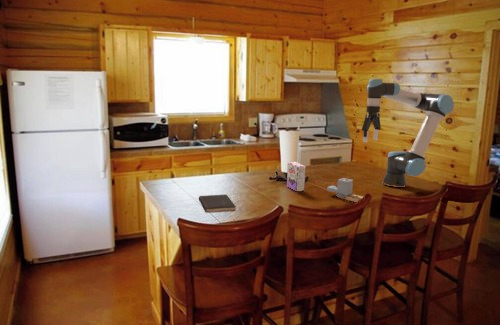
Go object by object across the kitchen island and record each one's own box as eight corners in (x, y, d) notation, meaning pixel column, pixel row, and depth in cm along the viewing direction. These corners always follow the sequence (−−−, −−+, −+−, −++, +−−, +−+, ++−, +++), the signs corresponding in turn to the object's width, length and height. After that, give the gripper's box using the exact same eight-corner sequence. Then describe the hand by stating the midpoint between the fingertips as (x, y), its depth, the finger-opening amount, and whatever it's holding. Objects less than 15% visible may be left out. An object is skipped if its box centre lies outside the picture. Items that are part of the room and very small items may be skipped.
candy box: (286, 186, 258) (287, 161, 254) (294, 186, 260) (295, 161, 257) (296, 192, 245) (297, 166, 242) (304, 192, 247) (306, 165, 244)
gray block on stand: (341, 195, 242) (343, 177, 239) (352, 197, 237) (353, 179, 235) (335, 197, 236) (337, 179, 234) (346, 200, 232) (347, 181, 230)
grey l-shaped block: (332, 188, 245) (332, 175, 244) (352, 193, 236) (353, 179, 235) (326, 190, 240) (327, 177, 239) (346, 195, 232) (347, 181, 230)
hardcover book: (226, 198, 232) (226, 194, 231) (235, 210, 210) (236, 206, 210) (198, 199, 227) (198, 195, 227) (205, 212, 206) (205, 208, 205)
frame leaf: (353, 197, 238) (353, 193, 237) (363, 200, 233) (364, 196, 233) (345, 200, 231) (345, 196, 231) (356, 203, 227) (357, 199, 226)
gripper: (376, 104, 247) (373, 138, 252) (357, 105, 229) (354, 142, 233) (388, 105, 242) (385, 140, 247) (370, 106, 224) (366, 144, 228)
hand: (370, 141), depth 240 cm, fingers open, 13 cm apart
